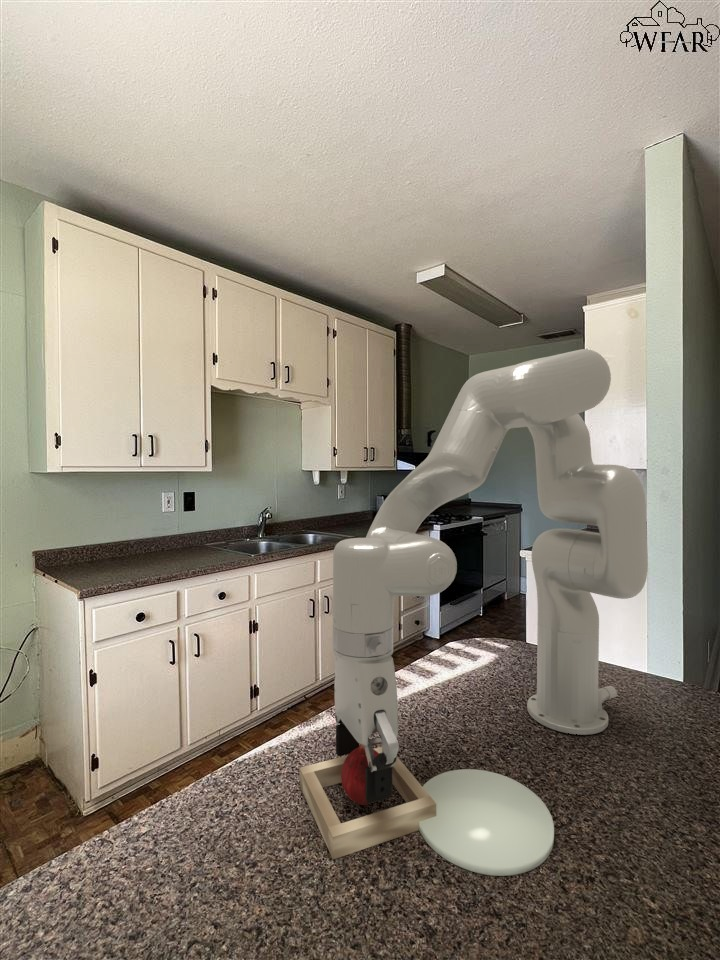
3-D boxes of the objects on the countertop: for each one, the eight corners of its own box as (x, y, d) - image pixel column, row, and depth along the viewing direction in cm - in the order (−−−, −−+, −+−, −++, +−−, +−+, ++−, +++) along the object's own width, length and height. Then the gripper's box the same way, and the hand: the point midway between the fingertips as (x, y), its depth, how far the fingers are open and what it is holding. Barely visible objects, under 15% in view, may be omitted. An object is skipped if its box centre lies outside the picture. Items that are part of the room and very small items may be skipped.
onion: (383, 824, 57) (383, 758, 57) (336, 817, 59) (335, 752, 58) (390, 791, 63) (390, 731, 63) (347, 786, 64) (346, 726, 64)
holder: (387, 762, 69) (387, 745, 69) (436, 824, 57) (436, 803, 57) (299, 786, 64) (299, 767, 64) (333, 859, 52) (332, 837, 52)
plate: (493, 764, 69) (493, 757, 69) (586, 846, 54) (586, 838, 54) (392, 795, 62) (392, 787, 62) (466, 897, 48) (466, 887, 48)
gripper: (425, 660, 54) (423, 811, 54) (363, 615, 69) (362, 733, 70) (362, 670, 51) (361, 831, 51) (312, 621, 67) (312, 744, 67)
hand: (362, 774), depth 61 cm, fingers open, 9 cm apart
